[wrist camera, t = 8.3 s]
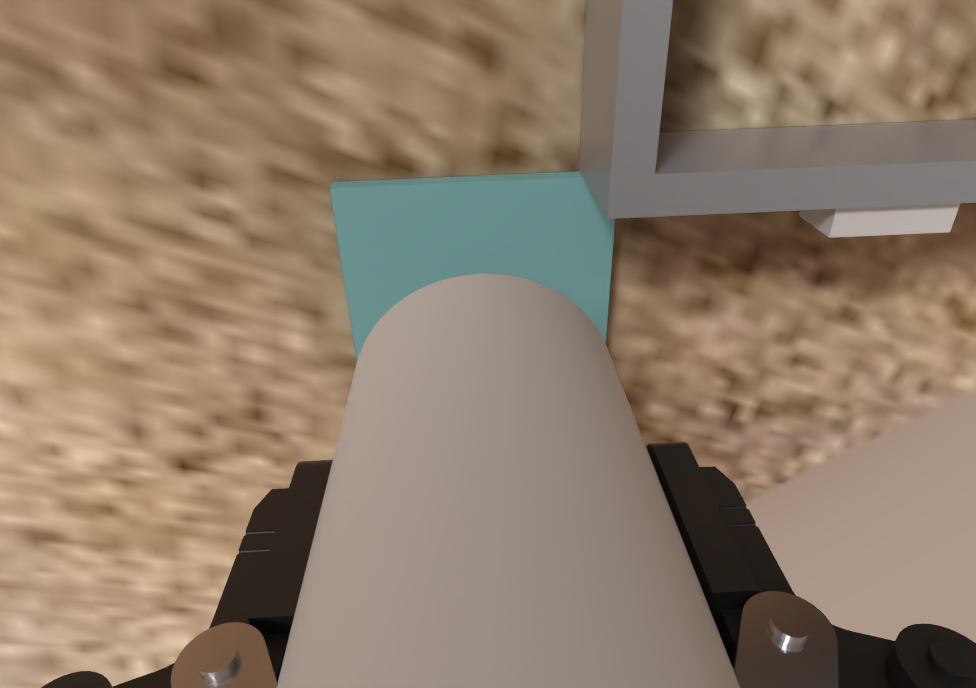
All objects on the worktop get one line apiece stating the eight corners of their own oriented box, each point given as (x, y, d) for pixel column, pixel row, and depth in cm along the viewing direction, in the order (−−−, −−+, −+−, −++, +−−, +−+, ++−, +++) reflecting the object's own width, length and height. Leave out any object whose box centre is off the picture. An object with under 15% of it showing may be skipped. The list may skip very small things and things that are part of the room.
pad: (333, 181, 18) (329, 188, 18) (613, 169, 18) (618, 175, 18) (368, 409, 22) (366, 420, 22) (597, 397, 22) (600, 408, 22)
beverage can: (647, 302, 16) (1014, 943, 5) (550, 487, 19) (665, 1126, 8) (396, 224, 14) (245, 872, 4) (334, 438, 17) (160, 1121, 7)
